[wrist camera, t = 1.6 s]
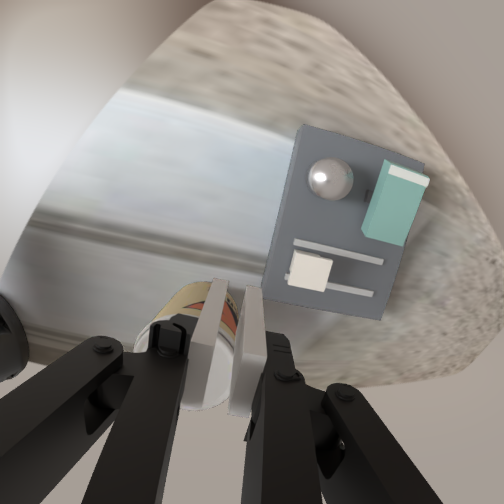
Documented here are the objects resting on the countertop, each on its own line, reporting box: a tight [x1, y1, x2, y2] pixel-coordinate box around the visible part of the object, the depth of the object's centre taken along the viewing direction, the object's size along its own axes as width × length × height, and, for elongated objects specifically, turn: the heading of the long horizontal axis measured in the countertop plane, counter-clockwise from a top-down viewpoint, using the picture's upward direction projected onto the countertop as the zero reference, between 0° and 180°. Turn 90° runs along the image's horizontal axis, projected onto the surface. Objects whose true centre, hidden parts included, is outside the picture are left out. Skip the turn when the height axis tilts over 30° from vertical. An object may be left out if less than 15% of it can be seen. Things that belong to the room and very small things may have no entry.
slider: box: [287, 249, 333, 292], centre depth 29 cm, size 3×3×4 cm
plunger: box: [306, 157, 353, 201], centre depth 27 cm, size 4×4×3 cm
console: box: [261, 124, 425, 321], centre depth 31 cm, size 13×17×5 cm
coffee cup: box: [133, 282, 239, 411], centre depth 30 cm, size 9×9×12 cm
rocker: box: [361, 159, 430, 247], centre depth 27 cm, size 4×7×2 cm, turn 167°
